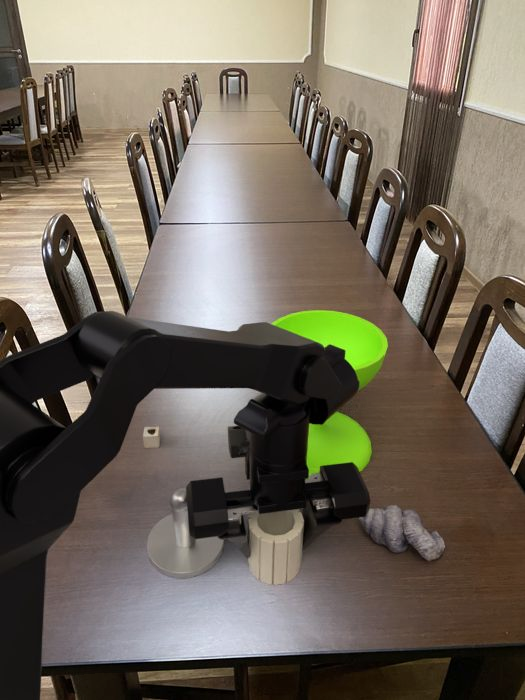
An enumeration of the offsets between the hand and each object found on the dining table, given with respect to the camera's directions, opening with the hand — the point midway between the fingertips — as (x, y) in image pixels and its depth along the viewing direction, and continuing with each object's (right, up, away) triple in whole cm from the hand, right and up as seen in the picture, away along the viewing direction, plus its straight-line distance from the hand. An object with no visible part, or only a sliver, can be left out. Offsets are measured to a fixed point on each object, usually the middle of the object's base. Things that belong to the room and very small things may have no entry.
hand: (275, 550), depth 61 cm
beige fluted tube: (0, -2, +1) cm, 2 cm away
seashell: (+15, -1, +3) cm, 15 cm away
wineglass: (+7, +9, +19) cm, 22 cm away
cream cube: (-18, +9, +18) cm, 27 cm away
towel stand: (-10, 0, +3) cm, 11 cm away
